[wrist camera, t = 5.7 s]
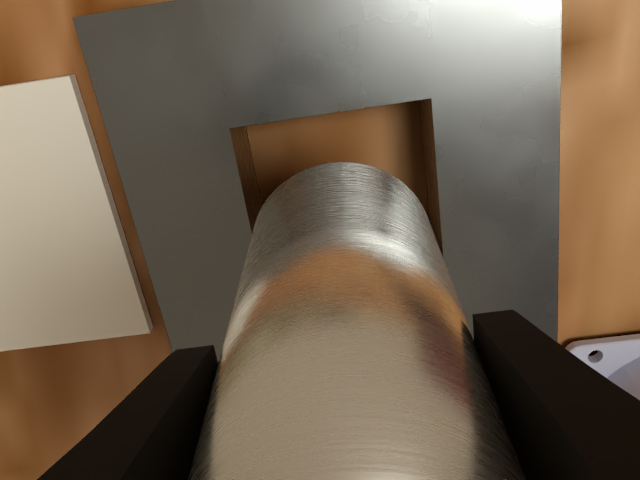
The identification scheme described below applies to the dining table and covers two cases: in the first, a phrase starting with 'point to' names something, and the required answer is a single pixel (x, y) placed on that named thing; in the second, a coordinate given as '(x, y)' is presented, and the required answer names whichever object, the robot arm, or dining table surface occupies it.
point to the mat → (59, 226)
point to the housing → (322, 98)
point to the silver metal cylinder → (349, 347)
